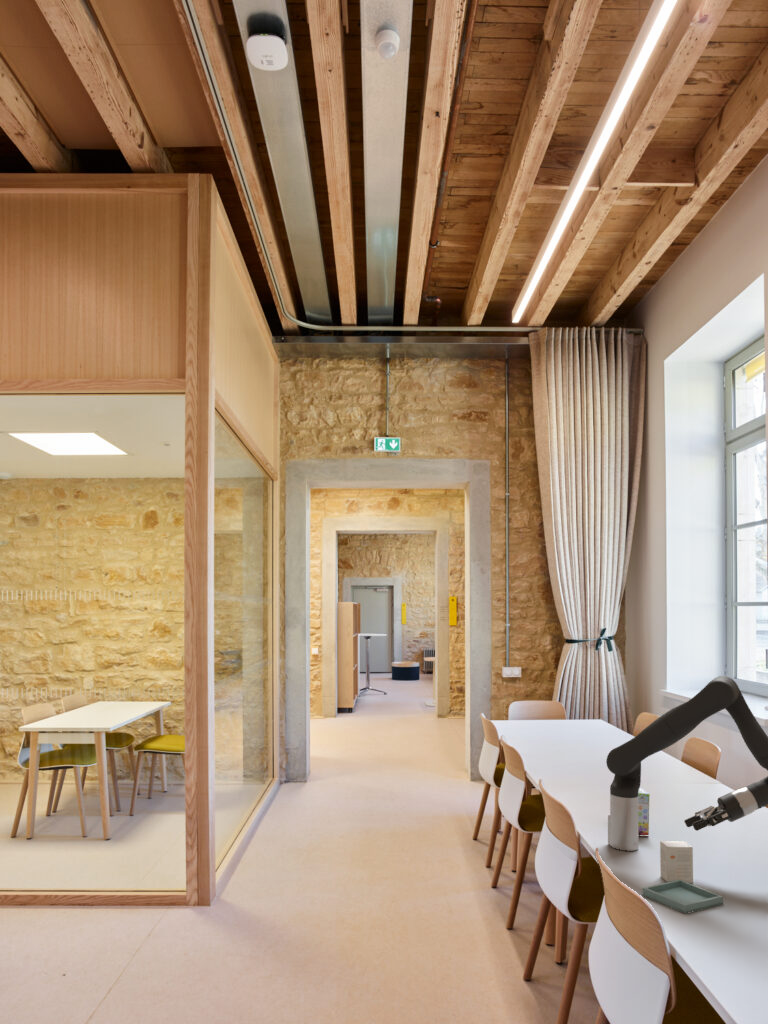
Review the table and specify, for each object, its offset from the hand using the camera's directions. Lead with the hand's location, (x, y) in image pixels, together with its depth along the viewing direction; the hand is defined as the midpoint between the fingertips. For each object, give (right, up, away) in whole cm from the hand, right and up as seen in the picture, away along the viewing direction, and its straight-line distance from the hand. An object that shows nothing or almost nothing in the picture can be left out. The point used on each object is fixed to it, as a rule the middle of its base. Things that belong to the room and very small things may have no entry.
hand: (689, 825), depth 245 cm
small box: (-6, -15, -4) cm, 16 cm away
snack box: (-2, -21, +50) cm, 54 cm away
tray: (-10, -13, -20) cm, 26 cm away
